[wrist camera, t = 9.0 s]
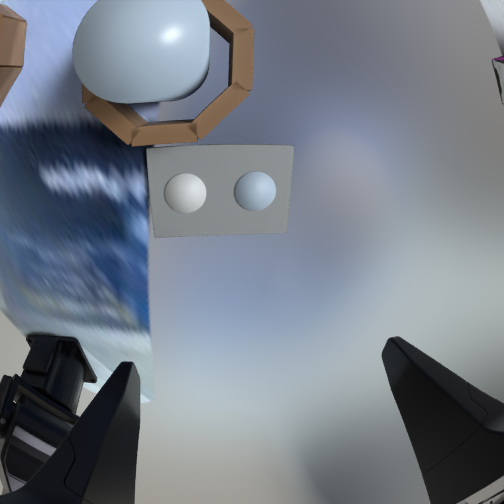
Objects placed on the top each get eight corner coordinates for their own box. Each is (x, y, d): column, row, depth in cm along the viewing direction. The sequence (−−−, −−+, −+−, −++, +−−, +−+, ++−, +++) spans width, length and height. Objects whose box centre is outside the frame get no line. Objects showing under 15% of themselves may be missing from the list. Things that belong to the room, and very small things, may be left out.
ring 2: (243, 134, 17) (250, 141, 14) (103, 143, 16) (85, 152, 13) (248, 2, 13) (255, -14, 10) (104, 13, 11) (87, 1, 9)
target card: (285, 230, 21) (287, 233, 20) (155, 235, 19) (154, 238, 19) (292, 145, 18) (294, 146, 17) (147, 147, 16) (146, 148, 16)
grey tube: (208, 99, 16) (207, 97, 8) (135, 104, 15) (72, 113, 7) (210, 32, 13) (213, -27, 6) (136, 37, 13) (78, -7, 5)
